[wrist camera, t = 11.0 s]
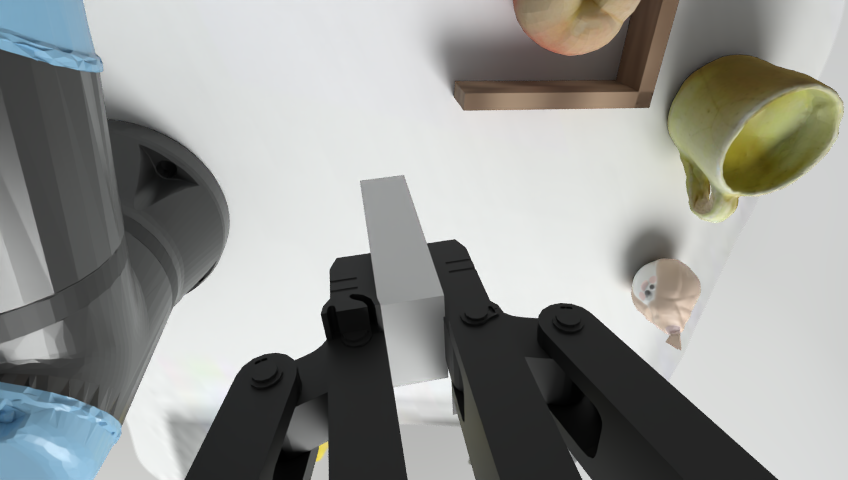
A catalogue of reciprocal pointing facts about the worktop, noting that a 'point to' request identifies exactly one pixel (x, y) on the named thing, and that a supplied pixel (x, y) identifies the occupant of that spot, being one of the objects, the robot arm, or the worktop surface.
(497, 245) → the worktop surface
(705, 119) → the mug
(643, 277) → the garlic bulb
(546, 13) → the fruit
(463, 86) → the wooden frame
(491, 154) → the worktop surface
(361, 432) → the robot arm
